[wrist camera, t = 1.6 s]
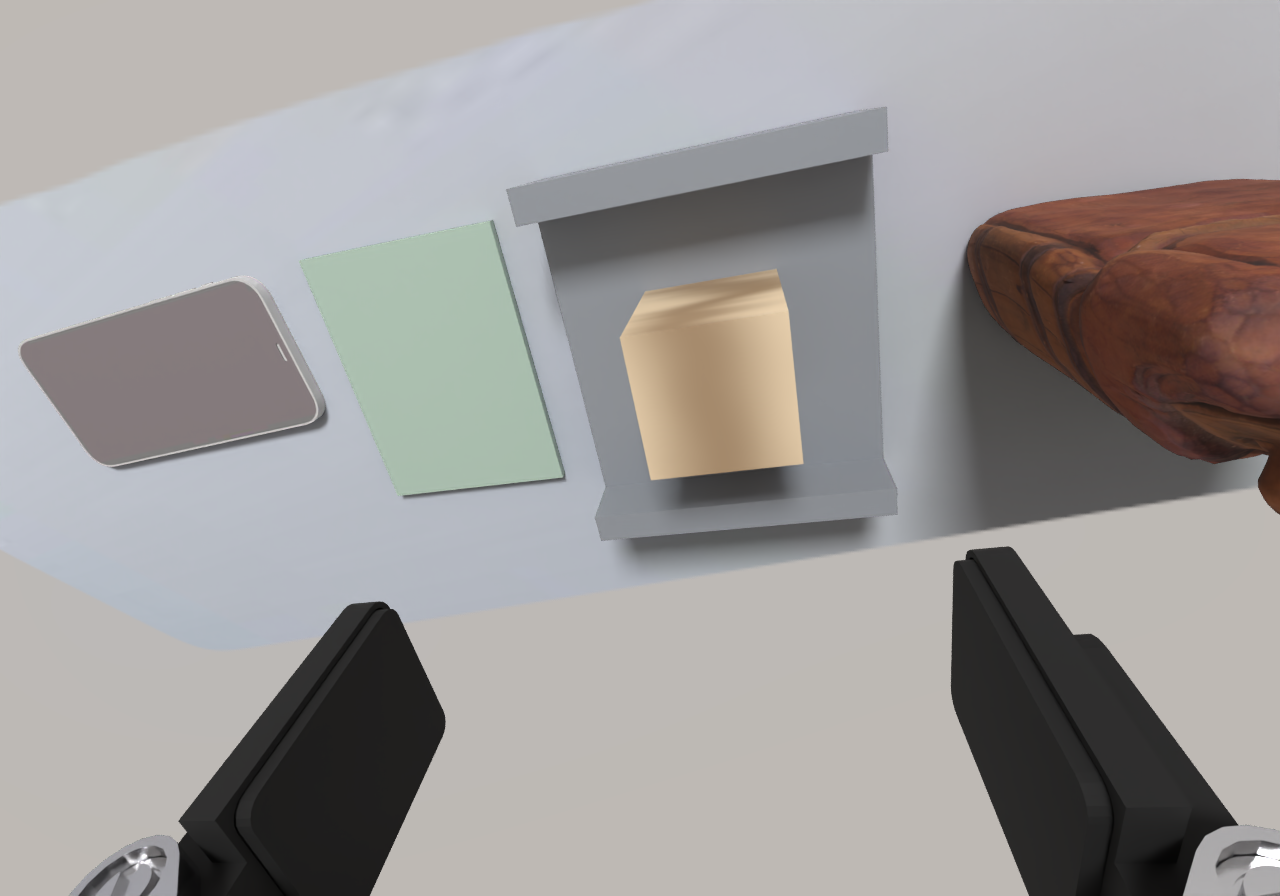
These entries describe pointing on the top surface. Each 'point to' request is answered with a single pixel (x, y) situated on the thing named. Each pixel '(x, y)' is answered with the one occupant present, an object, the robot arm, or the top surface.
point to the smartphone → (176, 373)
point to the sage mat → (438, 359)
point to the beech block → (714, 377)
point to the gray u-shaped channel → (718, 248)
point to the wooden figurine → (1153, 308)
